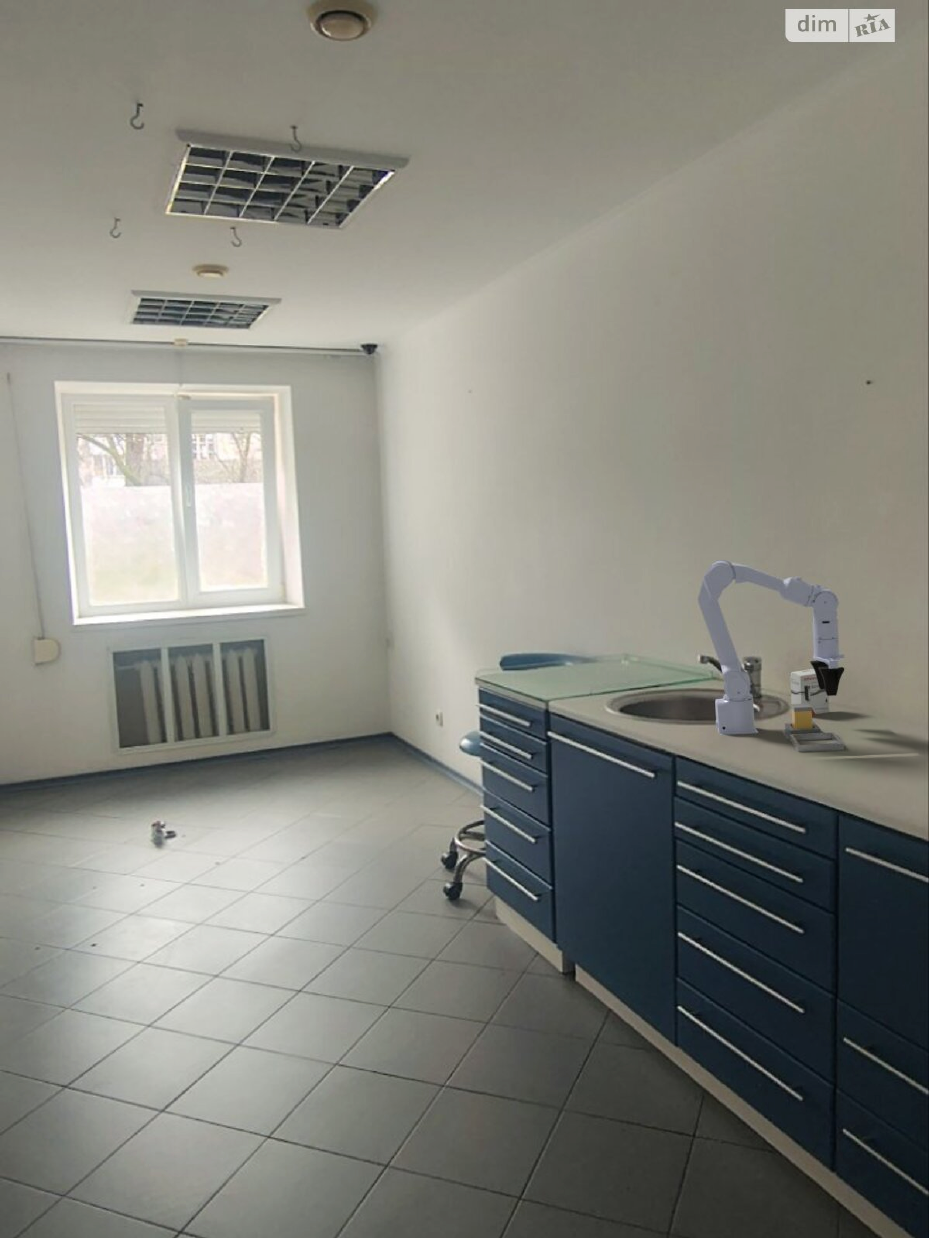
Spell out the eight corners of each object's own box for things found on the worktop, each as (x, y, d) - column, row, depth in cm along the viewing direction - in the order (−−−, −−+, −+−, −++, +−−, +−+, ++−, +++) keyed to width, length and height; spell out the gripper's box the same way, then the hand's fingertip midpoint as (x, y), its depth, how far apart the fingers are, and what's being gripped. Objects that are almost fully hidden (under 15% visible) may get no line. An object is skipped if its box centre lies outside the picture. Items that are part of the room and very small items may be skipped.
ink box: (802, 718, 231) (800, 674, 229) (791, 715, 235) (789, 672, 234) (830, 714, 232) (828, 670, 231) (819, 710, 237) (817, 667, 236)
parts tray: (798, 754, 201) (797, 745, 200) (790, 742, 210) (789, 734, 210) (844, 752, 199) (843, 743, 198) (833, 740, 208) (833, 732, 208)
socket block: (787, 741, 211) (786, 731, 211) (780, 731, 220) (779, 722, 220) (826, 739, 210) (825, 729, 209) (818, 730, 218) (817, 720, 218)
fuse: (795, 735, 213) (794, 707, 212) (792, 731, 217) (791, 704, 216) (813, 735, 213) (811, 706, 212) (809, 730, 216) (808, 703, 216)
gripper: (850, 641, 206) (852, 697, 208) (835, 632, 221) (837, 685, 222) (819, 643, 208) (821, 699, 209) (806, 634, 222) (808, 686, 223)
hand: (827, 692), depth 216 cm, fingers open, 7 cm apart
